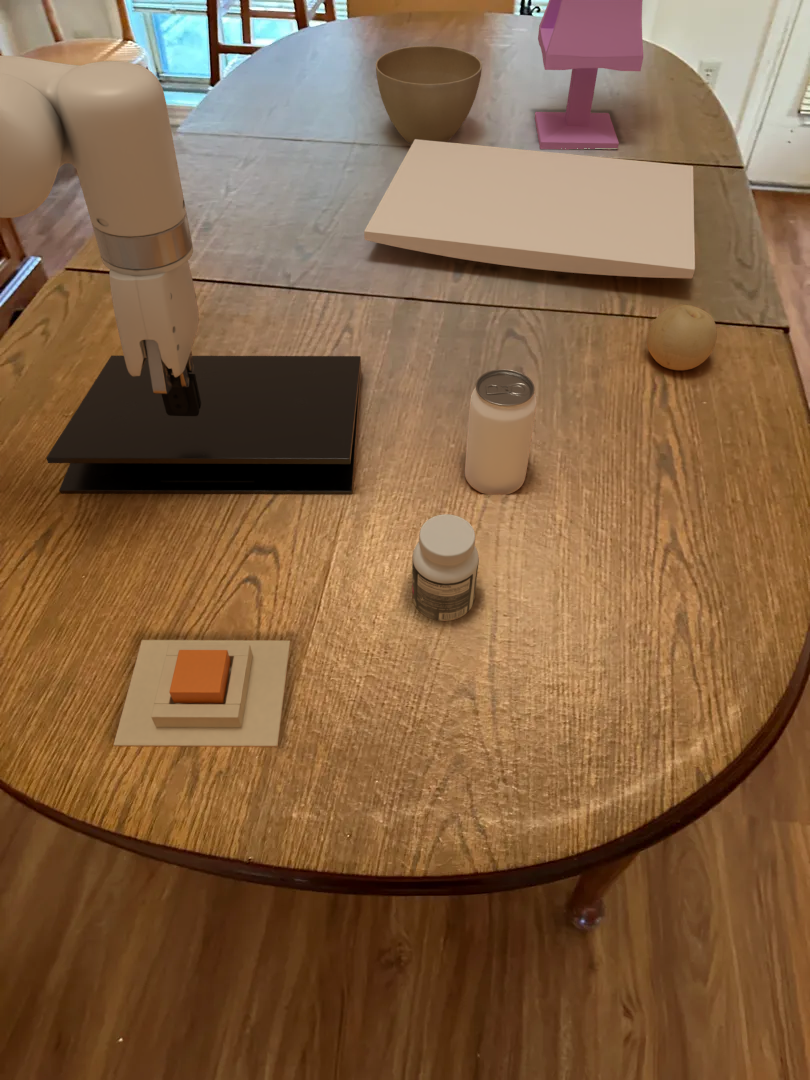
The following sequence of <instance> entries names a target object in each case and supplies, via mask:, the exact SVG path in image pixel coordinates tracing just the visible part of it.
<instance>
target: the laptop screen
mask: <svg viewBox="0 0 810 1080" xmlns="http://www.w3.org/2000/svg"><path fill="white" fill-rule="evenodd" d="M192 357H193V363H194V370H193V372H189V374H195V376H196V380H197V385H198V390H199V395H200V400H201V407H200V409H199V414H198V416H170V415H168V414H167V413H166V410H165V406H164V402H163V398H162V394H154V393H153V388H152V382H151V376H150V370H149V364H148V358H147V359H146V362H145V364H144V367H143V369H142V372H141V375H140V376H132V375H130V373H129V372H128V370H127V366H126V362H125V358H124V355H110V357H109V358H108V360H107V361H106V363H105V365H104V366H103V368H102V369H101V371H100V372H99V374H98V376H97V377H96V379H95V381H94V382H93V384H92V385H91V386H90V389H89V390H88V391H87V392H86V394H85V396H84V397H83V399H82V401H81V402H80V404H79V405H78V407H77V409H76V410H75V411H74V413H73V414H72V416H71V418H70V420H69V421H68V423H67V424H66V426H65V427H64V429H63V430H62V433H61V434H60V435H59V436H58V439H57V440H56V442H55V443H54V445H53V447H52V448H51V450H50V451H49V453H48V454H47V456H46V458H45V459H46V461H47V463H48V464H70V463H132V464H350V461H351V451H352V442H353V432H354V422H355V413H356V403H357V393H358V384H359V374H360V364H361V365H362V356H360V355H192Z"/></svg>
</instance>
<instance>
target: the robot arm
mask: <svg viewBox="0 0 810 1080" xmlns="http://www.w3.org/2000/svg"><path fill="white" fill-rule="evenodd" d="M66 164H70V165H71V166H73V167H74V168H75V170H76V173H77V177H78V180H79V184H80V187H81V191H82V194H83V197H84V202H85V205H86V209H87V212H88V216H89V219H90V222H91V226H92V229H93V230H92V231H93V233H94V236H95V240H96V245H97V248H98V251H99V255H100V258H101V262H102V263H103V265H104V266H105V267H106V268H107V269H109V275H108V276H109V285H110V286H109V287H110V294H111V301H112V308H113V312H114V317H115V323H116V328H117V331H118V337H119V340H120V345H121V349H122V355H123V356H124V358H125V362H126V366H127V370H128V372H129V373H130V375H132V376H140V375H141V372H142V369H143V367H144V364H145V362H146V359H147V358H148V364H149V370H150V376H151V382H152V388H153V393H154V394H162V398H163V402H164V406H165V410H166V413H167V414H168V415H170V416H198V414H199V409H200V407H201V400H200V395H199V390H198V385H197V380H196V376H195V374H189V372H193V370H194V363H193V357H192V356H193V351H192V348H193V347H194V346H193V345H194V343H195V339H196V337H197V333H198V328H199V323H200V322H199V321H200V316H199V306H198V299H197V293H196V289H195V288H196V287H195V284H194V280H193V276H192V271H191V267H190V263H189V260H190V259H191V258H192V256H193V253H194V245H193V240H192V235H191V229H190V224H189V219H188V218H189V217H188V213H187V209H186V203H185V198H184V197H185V196H184V191H183V187H182V182H181V177H180V170H179V165H178V159H177V154H176V148H175V144H174V138H173V133H172V126H171V122H170V117H169V110H168V105H167V101H166V96H165V91H164V89H163V86H162V83H161V82H160V80H159V79H158V77H157V76H156V75H155V74H154V73H153V72H152V71H151V70H150V69H148V68H146V67H145V66H143V65H141V64H137V63H133V62H129V61H119V60H105V61H104V60H103V61H95V62H90V63H85V64H82V65H78V64H69V63H64V62H63V63H62V62H55V61H48V60H43V59H37V58H33V57H24V56H19V55H0V218H1V219H11V218H13V219H14V218H20V217H23V216H26V215H28V214H30V213H32V212H34V211H36V210H37V209H38V208H39V207H41V205H42V204H43V203H44V202H45V201H46V200H47V199H48V197H49V195H50V193H51V191H52V189H53V187H54V184H55V181H56V179H57V175H58V172H59V169H60V168H61V167H62V166H63V165H66Z"/></svg>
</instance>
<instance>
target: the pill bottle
mask: <svg viewBox="0 0 810 1080" xmlns="http://www.w3.org/2000/svg"><path fill="white" fill-rule="evenodd" d="M412 551H413V552H412V560H411V561H412V562H411V563H412V564H411V565H412V570H411V575H412V579H411V580H412V581H411V582H412V583H411V597H412V599H411V600H412V603H413V605H414V607H415V608H416V610H417V611H418V612H419V613H420V614H422V615H423V616H425V617H426V618H428V619H430V620H434V621H437V622H450V621H455V620H458V619H460V618H462V617H464V616H465V615H467V614H468V613H469V611H470V610H471V609H472V607H473V606H474V603H475V597H476V589H477V580H478V579H477V578H478V572H479V571H478V570H479V564H480V563H479V562H480V557H479V556H480V555H479V552H478V551H479V550H478V548H477V547H476V532H475V529H474V527H473V526H472V525H471V523H470V522H469V521H468V520H467V519H465V518H463V517H462V516H460V515H459V516H458V515H455V514H448V513H446V514H445V513H444V514H438V515H434V516H432V517H430V518H429V519H427V520H426V521H425V522H424V523H423V524H422V525H421V528H420V529H419V535H418V542H417V543H416V544H415V547H414V549H413V550H412Z"/></svg>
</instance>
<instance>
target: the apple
mask: <svg viewBox="0 0 810 1080" xmlns="http://www.w3.org/2000/svg"><path fill="white" fill-rule="evenodd" d="M717 339H718V330H717V325H716V322H715V320H714V318H713V317H712V315H710V313H708V312H707V311H705V310H703V309H702V308H700V307H697V306H694V305H692V304H684V303H683V304H682V303H681V304H680V303H679V304H675V305H672V306H670V307H667V308H666V309H664V310H663V311H662V312H660V313H659V314H658V315H657V316H656V317H655V319H654V320H653V321H652V322H651V325H650V327H649V329H648V332H647V336H646V345H647V350H648V352H649V354H650V356H651V357H652V358H653V359H654V360H655V362H656V363H657V364H659V365H660V366H662V367H664V368H665V369H668V370H671V371H688V370H692V369H695V368H697V367H698V366H701V364H703V363H704V362H705V361H706V360H708V358H709V357H710V355H712V352H713V350H714V348H715V346H716V343H717Z"/></svg>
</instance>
